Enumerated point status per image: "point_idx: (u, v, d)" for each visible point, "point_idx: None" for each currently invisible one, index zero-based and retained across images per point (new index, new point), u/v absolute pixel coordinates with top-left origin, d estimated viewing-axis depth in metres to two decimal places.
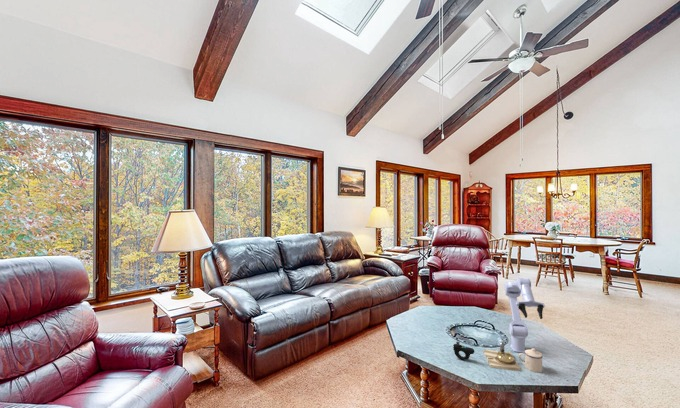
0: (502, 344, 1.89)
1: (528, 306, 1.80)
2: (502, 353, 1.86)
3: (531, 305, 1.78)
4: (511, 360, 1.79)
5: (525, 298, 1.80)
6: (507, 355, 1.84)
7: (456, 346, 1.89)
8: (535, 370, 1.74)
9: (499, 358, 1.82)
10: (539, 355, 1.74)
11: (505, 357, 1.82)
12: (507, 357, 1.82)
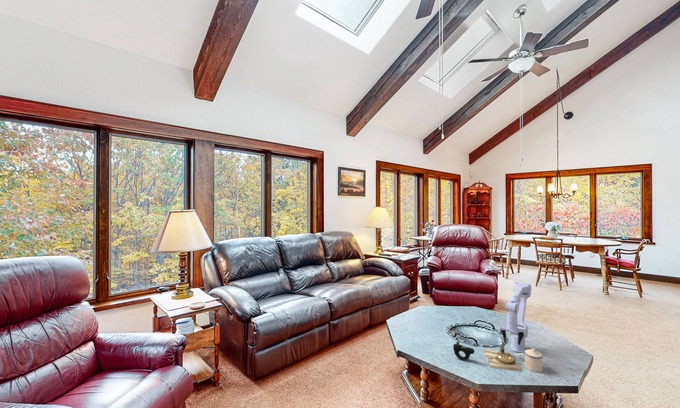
0: (502, 344, 1.89)
1: None
2: (502, 353, 1.86)
3: None
4: (511, 360, 1.79)
5: (508, 326, 1.88)
6: (507, 355, 1.84)
7: (456, 346, 1.89)
8: (535, 370, 1.74)
9: (499, 358, 1.82)
10: (539, 355, 1.74)
11: (505, 357, 1.82)
12: (507, 357, 1.82)
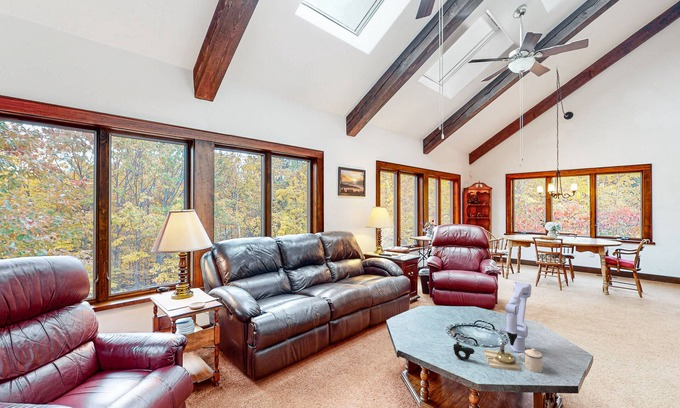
0: (502, 344, 1.89)
1: None
2: (502, 353, 1.86)
3: None
4: (511, 360, 1.79)
5: (508, 328, 1.88)
6: (507, 355, 1.84)
7: (456, 346, 1.89)
8: (535, 370, 1.74)
9: (499, 358, 1.82)
10: (539, 355, 1.74)
11: (505, 357, 1.82)
12: (507, 357, 1.82)
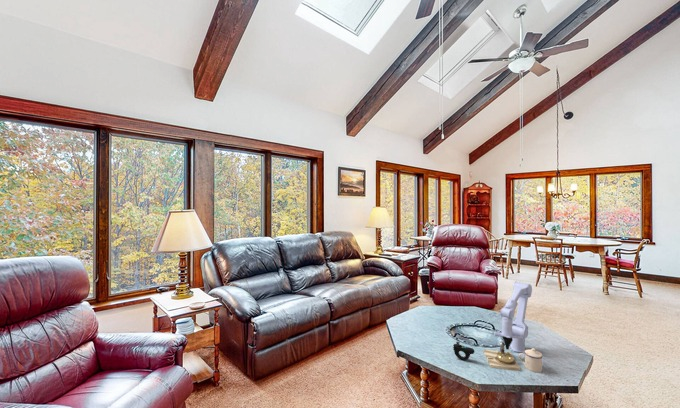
0: (502, 344, 1.89)
1: None
2: (502, 353, 1.86)
3: None
4: (511, 360, 1.79)
5: (503, 332, 1.89)
6: (507, 355, 1.84)
7: (456, 346, 1.89)
8: (535, 370, 1.74)
9: (499, 358, 1.82)
10: (539, 355, 1.74)
11: (505, 357, 1.82)
12: (507, 357, 1.82)
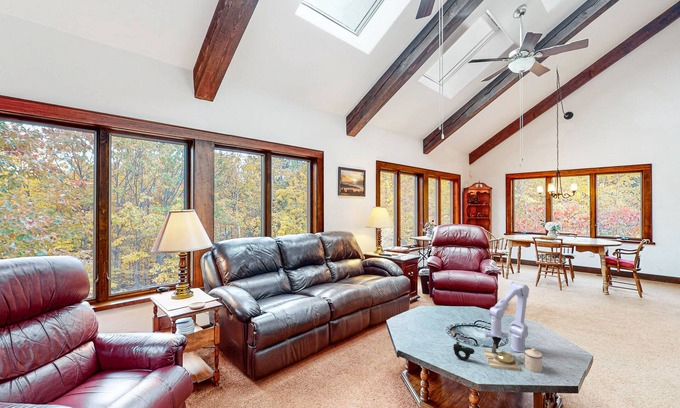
0: (495, 345, 1.88)
1: None
2: None
3: None
4: (513, 358, 1.82)
5: (494, 332, 1.89)
6: (505, 354, 1.85)
7: (456, 346, 1.89)
8: (535, 370, 1.74)
9: (506, 360, 1.80)
10: (539, 355, 1.74)
11: (508, 357, 1.81)
12: (508, 356, 1.83)
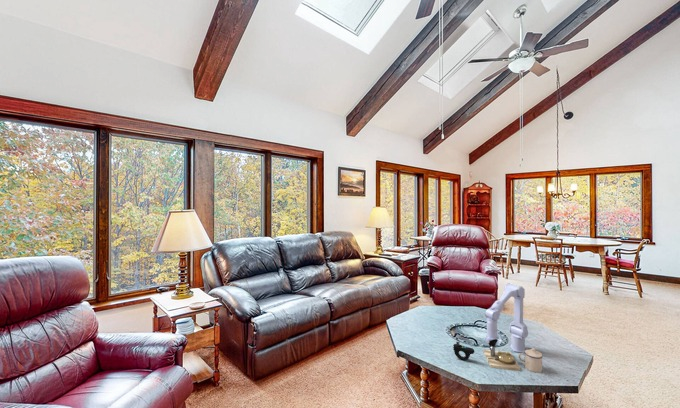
0: (494, 348, 1.85)
1: None
2: (501, 355, 1.83)
3: None
4: None
5: (493, 334, 1.85)
6: (503, 354, 1.85)
7: (456, 346, 1.89)
8: (535, 370, 1.74)
9: (511, 361, 1.79)
10: (539, 355, 1.74)
11: (509, 356, 1.83)
12: (507, 355, 1.84)
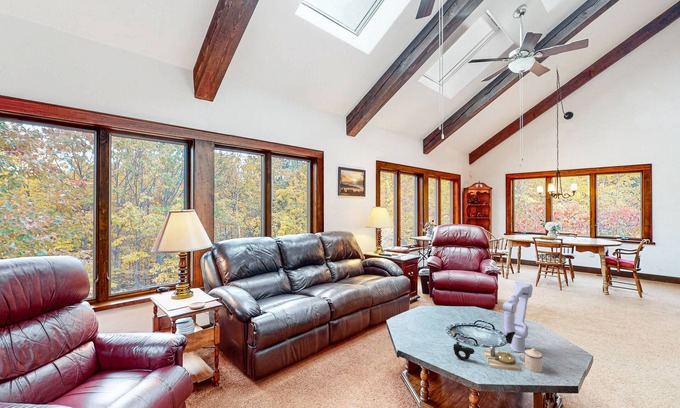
0: (494, 348, 1.85)
1: None
2: (501, 355, 1.83)
3: None
4: None
5: (510, 327, 1.86)
6: (503, 354, 1.85)
7: (456, 346, 1.89)
8: (535, 370, 1.74)
9: (511, 361, 1.79)
10: (539, 355, 1.74)
11: (509, 356, 1.83)
12: (507, 355, 1.84)
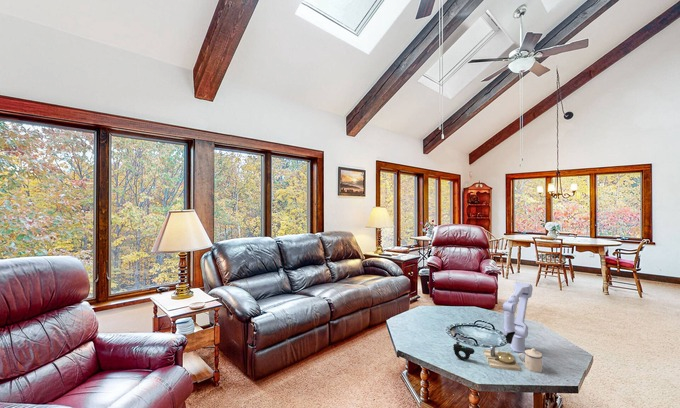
0: (494, 348, 1.85)
1: None
2: (501, 355, 1.83)
3: None
4: None
5: (510, 327, 1.86)
6: (503, 354, 1.85)
7: (456, 346, 1.89)
8: (535, 370, 1.74)
9: (511, 361, 1.79)
10: (539, 355, 1.74)
11: (509, 356, 1.83)
12: (507, 355, 1.84)
